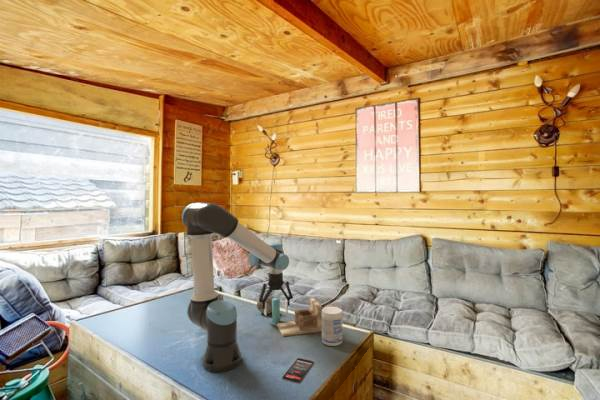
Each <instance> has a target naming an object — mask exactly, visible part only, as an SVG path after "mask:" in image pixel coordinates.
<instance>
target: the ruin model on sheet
mask: <svg viewBox="0 0 600 400" xmlns="http://www.w3.org/2000/svg"><path fill="white" fill-rule="evenodd" d="M218 300H224V294H220V293H218Z"/></svg>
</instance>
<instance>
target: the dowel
mask: <svg viewBox="0 0 600 400" xmlns="http://www.w3.org/2000/svg"><path fill="white" fill-rule="evenodd" d="M280 303H281V299H280V298H279V297H275V298H274V297H272V312H271V317H272V319H271V320H272V323H273V324H277V323H281V306H280V305H281V304H280Z"/></svg>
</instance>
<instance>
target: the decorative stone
mask: <svg viewBox="0 0 600 400" xmlns="http://www.w3.org/2000/svg"><path fill="white" fill-rule="evenodd" d="M264 296H265V295H264ZM264 296H263V298H264ZM272 299H273V297H271V296H270V295H269V297H268V298H267V300H266V303H267V314H270V313H272ZM256 308H257V309H258V311H259V312H260V313H261V314H264V309H263V308H262V302H259V299H258V300H257V302H256ZM264 315H265V314H264Z"/></svg>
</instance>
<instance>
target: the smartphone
mask: <svg viewBox="0 0 600 400" xmlns="http://www.w3.org/2000/svg"><path fill="white" fill-rule="evenodd" d="M314 363H315V361H313V360H309V359H305V358H300V357H298V358H296V360H295V361H294V362H293V363H292V365H290V367H289V368H288V370H286V372H285V373H284V374H283V376H282V377H281V379H282V380H284V381H288V382H291V383H295V384H300V383H302V382H303V381H304V378H305V377H306V376H307V374H308V373H309V371H310V369H311V368H312V367H313V365H314Z"/></svg>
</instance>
